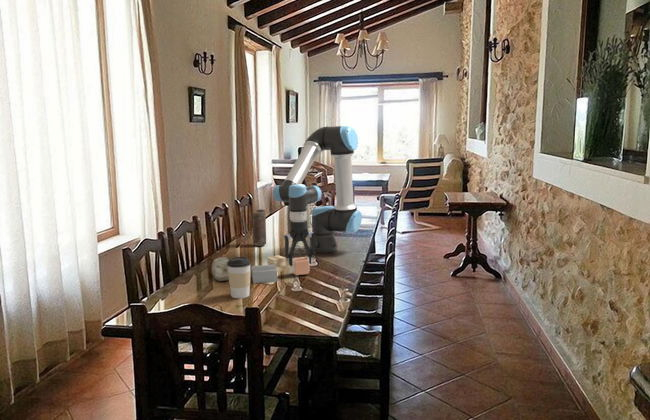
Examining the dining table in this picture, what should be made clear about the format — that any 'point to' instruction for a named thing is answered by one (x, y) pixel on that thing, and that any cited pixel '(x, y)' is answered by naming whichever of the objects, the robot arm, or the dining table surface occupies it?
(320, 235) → the robot arm
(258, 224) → the candle
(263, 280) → the slate base
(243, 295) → the coffee cup
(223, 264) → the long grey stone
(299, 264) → the terracotta cube
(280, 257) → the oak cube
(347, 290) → the dining table surface
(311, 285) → the dining table surface
